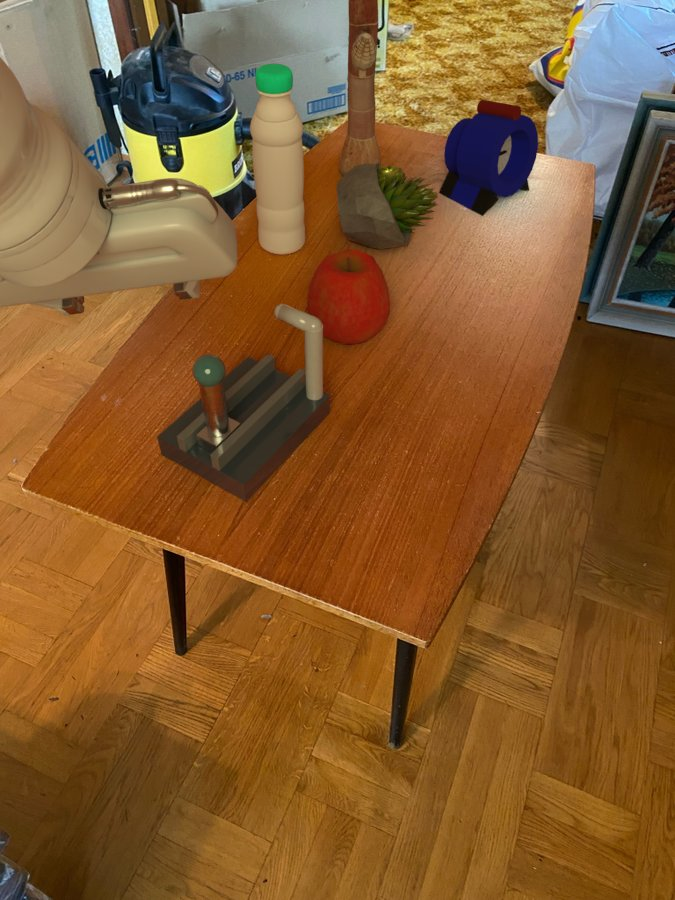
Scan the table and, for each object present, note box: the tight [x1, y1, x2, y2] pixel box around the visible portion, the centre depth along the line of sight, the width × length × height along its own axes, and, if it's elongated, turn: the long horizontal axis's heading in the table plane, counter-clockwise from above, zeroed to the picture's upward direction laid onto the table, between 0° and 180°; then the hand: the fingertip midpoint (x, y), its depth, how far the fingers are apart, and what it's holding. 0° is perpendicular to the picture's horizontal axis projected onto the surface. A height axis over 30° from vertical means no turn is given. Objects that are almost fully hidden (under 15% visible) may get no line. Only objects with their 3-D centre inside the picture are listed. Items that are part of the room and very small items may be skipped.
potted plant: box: [336, 163, 439, 250], centre depth 105 cm, size 12×13×15 cm
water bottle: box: [249, 63, 306, 256], centre depth 99 cm, size 7×7×25 cm
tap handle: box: [191, 353, 241, 452], centre depth 73 cm, size 3×4×12 cm
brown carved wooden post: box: [338, 0, 382, 178], centre depth 112 cm, size 10×7×30 cm
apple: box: [306, 249, 391, 346], centre depth 91 cm, size 11×11×11 cm
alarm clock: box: [438, 99, 539, 217], centre depth 114 cm, size 12×12×15 cm
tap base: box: [156, 303, 331, 503], centre depth 77 cm, size 12×16×14 cm
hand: (132, 297), depth 55 cm, fingers open, 8 cm apart
